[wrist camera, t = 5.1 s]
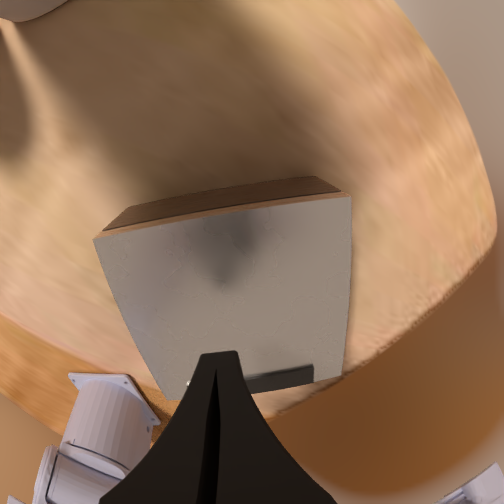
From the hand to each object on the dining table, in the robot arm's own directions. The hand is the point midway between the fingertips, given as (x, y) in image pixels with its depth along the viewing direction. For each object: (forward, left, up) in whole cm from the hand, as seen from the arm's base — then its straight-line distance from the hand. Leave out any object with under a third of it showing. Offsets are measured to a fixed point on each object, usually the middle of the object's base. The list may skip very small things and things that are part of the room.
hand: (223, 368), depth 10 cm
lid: (-1, -1, -5) cm, 5 cm away
